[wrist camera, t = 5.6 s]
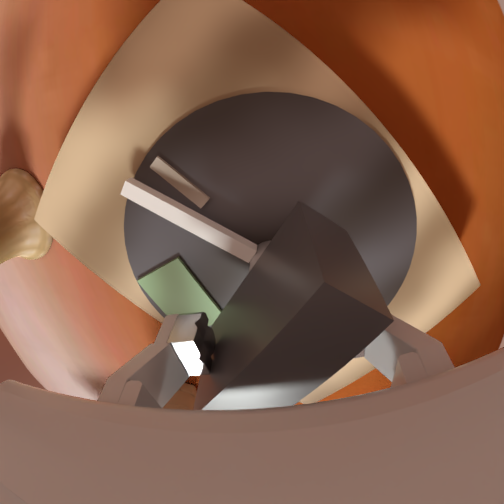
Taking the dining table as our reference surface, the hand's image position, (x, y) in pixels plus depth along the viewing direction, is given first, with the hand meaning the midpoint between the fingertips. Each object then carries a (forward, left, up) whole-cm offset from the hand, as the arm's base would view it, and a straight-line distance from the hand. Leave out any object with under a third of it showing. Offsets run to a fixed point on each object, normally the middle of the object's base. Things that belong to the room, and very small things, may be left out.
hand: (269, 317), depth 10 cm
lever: (+3, 0, -4) cm, 5 cm away
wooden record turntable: (0, 0, -8) cm, 8 cm away
